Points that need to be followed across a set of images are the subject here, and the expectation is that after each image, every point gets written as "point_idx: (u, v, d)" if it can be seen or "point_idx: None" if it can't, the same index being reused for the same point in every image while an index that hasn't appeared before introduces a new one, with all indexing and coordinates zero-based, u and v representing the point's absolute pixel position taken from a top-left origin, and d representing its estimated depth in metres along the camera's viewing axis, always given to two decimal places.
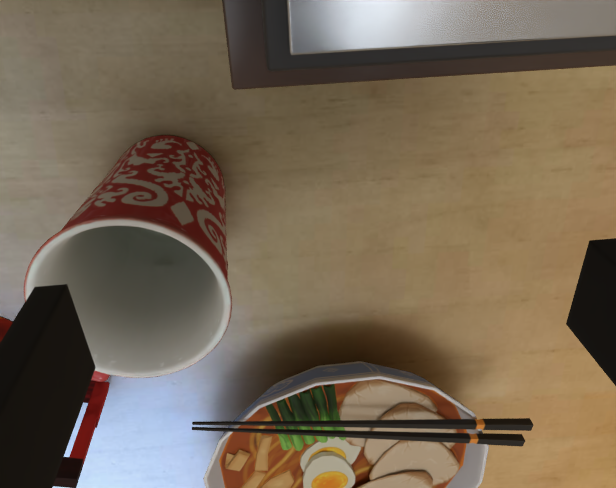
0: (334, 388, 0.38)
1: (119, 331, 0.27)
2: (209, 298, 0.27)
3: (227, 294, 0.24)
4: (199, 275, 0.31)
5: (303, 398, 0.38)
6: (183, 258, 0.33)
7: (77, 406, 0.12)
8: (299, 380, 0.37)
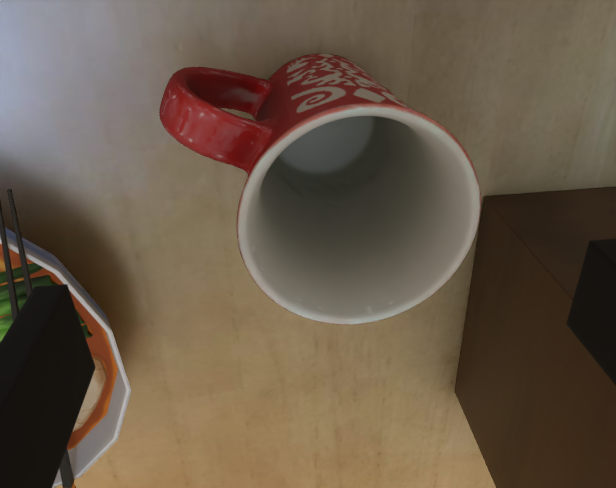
0: None
1: None
2: (303, 262, 0.23)
3: (363, 322, 0.21)
4: (279, 208, 0.25)
5: None
6: None
7: (77, 406, 0.12)
8: (92, 300, 0.29)
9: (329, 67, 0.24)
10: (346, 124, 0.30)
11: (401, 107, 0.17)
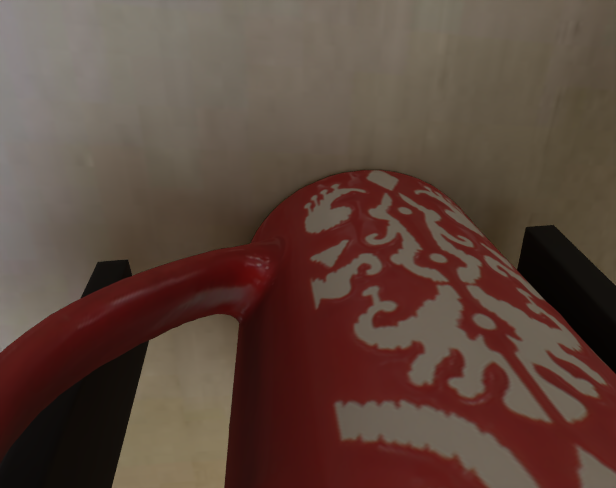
0: None
1: None
2: None
3: None
4: None
5: None
6: None
7: (137, 374, 0.13)
8: None
9: (411, 250, 0.10)
10: None
11: None
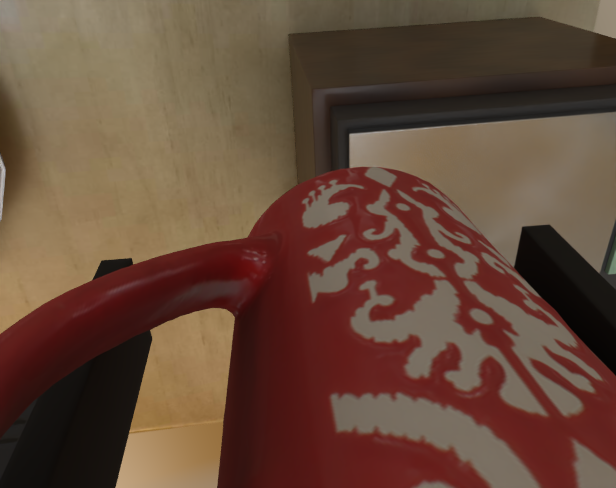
0: None
1: None
2: None
3: None
4: None
5: None
6: None
7: (141, 372, 0.13)
8: None
9: (409, 246, 0.10)
10: None
11: None
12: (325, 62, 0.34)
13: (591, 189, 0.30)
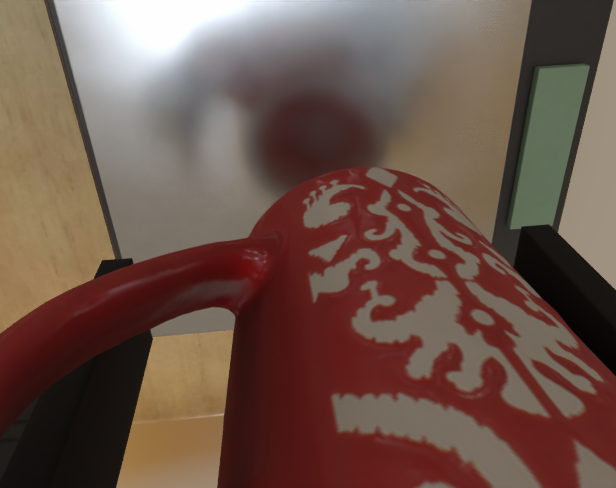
0: None
1: None
2: None
3: None
4: None
5: None
6: None
7: (141, 372, 0.13)
8: None
9: (410, 246, 0.10)
10: None
11: None
12: None
13: (464, 88, 0.19)
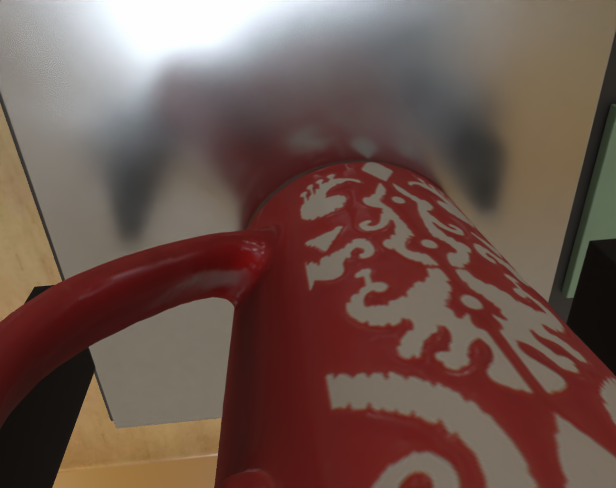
0: None
1: None
2: None
3: None
4: None
5: None
6: None
7: (77, 406, 0.12)
8: None
9: (403, 236, 0.10)
10: None
11: None
12: None
13: (523, 134, 0.15)
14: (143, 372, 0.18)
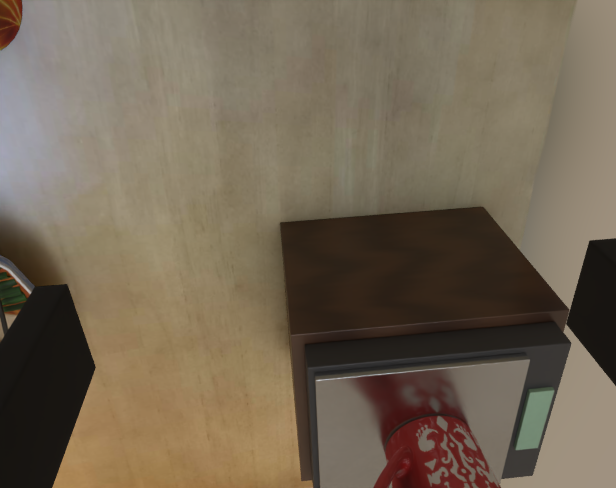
0: None
1: None
2: None
3: None
4: None
5: (14, 291, 0.49)
6: None
7: (77, 406, 0.12)
8: (32, 286, 0.49)
9: (456, 467, 0.36)
10: None
11: None
12: (304, 285, 0.45)
13: (494, 404, 0.41)
14: (338, 482, 0.44)
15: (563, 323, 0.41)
